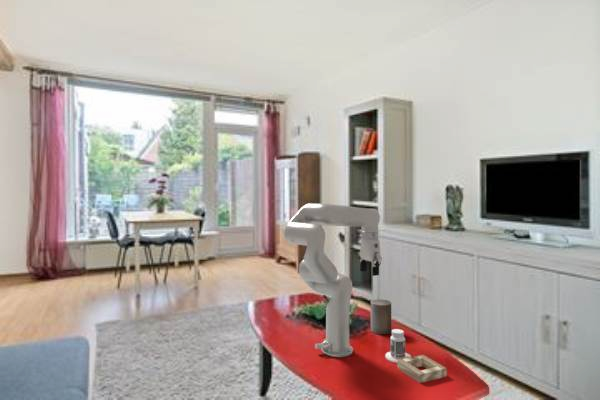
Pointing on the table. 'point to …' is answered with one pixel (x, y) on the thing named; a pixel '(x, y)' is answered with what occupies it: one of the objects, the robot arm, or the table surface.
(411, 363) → the socket block
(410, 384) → the table surface
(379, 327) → the pillar candle
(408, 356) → the felt mat
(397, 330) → the pill bottle
